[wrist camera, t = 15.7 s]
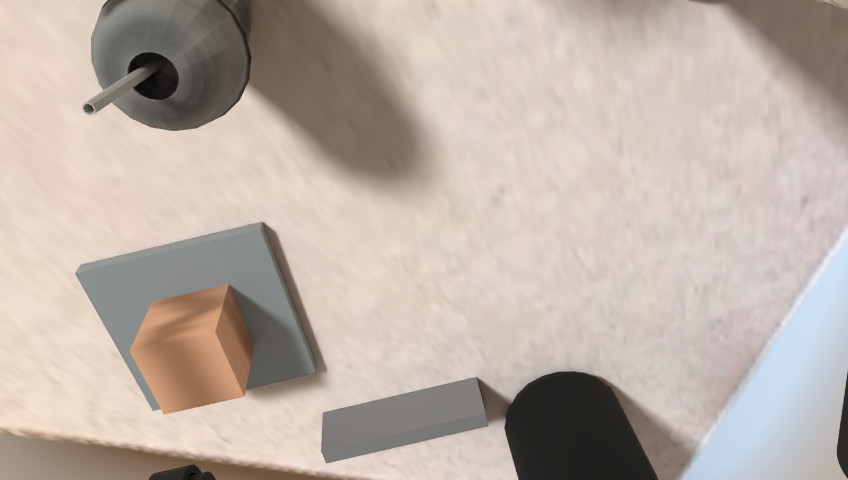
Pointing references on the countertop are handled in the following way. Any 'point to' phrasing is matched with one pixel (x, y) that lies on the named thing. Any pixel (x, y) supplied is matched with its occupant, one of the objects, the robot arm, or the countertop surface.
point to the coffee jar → (573, 432)
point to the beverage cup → (171, 59)
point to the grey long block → (402, 420)
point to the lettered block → (194, 349)
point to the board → (199, 270)
